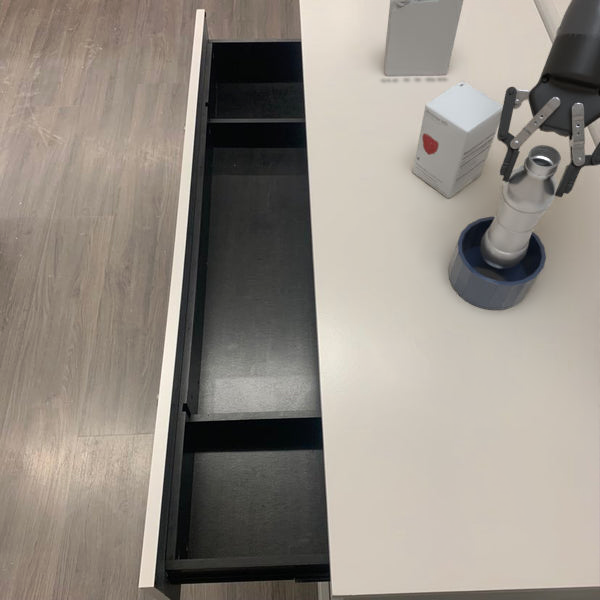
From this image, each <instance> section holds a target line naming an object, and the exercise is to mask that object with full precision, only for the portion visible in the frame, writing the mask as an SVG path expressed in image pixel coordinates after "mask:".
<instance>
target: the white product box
mask: <svg viewBox="0 0 600 600" xmlns="http://www.w3.org/2000/svg"><path fill="white" fill-rule="evenodd" d="M502 109H503V104H501V103H500V102H498V101H496V100H495V99H493V98H491V97H490V96H488V95H487V94H486V93H485V92H484V91H481V90H478V89H476V88H475V87H474V86H472V85H470V84H468V83H466V82H465V81H463V80H460V81H459V82H457V83H456V84H454V85H453V86H452V87H450V88H448V89H447V90H445V91H444V92H443V93H441V94H439V95H437V96H436V97H434V98H432V100H430V101H428V102H427V103H426V104H425V106H424V110H423V117H422V121H421V122H422V123H421V126H420V131H419V136H418V142H417V148H416V152H415V156H414V161H413V162H414V163H413V167H412V174H414V175H416V177H418V178H419V179H421V180H422V181H424V182H425V183H426V184H427V185H429V186H430V187H432V189H434V190H436V191H437V192H438V193H440V194H441V195H442V196H444V197H445V198H446V199H451V198H453V197H454V196H455V195H457V194H458V193H459V192H460V191H462V190H463V189H464V188H466V187H467V186H468V185H469V184H471V183H472V182H473V181H474V180H476V179H477V178H478V177H480V176H481V175H482V173H483V170H484V166H485V164H486V161H487V158H488V156H489V152H490V150H491V147H492V144H493V142H494V139H495V136H496V133H497V131H498V129H499V124H500V119H501V114H502Z"/></svg>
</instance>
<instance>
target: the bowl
mask: <svg viewBox="0 0 600 600" xmlns="http://www.w3.org/2000/svg"><path fill="white" fill-rule="evenodd" d="M494 218H495V216H487V217H481V218H478V219H476V220H475V221H473V222H470V223H468V224H467V225H466V226H465V227H464V229H463V230H462V231H461V232H460V235H459V237H458V240H457V243H456V245H455V249H454V251H453V254H452V257H451V260H450V262H449V267H448V278H449V282H450V284H451V286H452V288H453V290H454V292H456V294H457V295H458V296H459V297H460V298H461V299H463V300H464V301H465V302H467V303H469V305H472V306H474V307H477V308H480V309H483V310H489V311H502V310H507V309H509V308H510V309H511V308H513V307H515V306H517V305H519V304H520V303H521V302H522V301H523V300H525V298H526V297H527V295H528V294H529V292H530V291H531V289H532V287H533V286H534V285H535V283H536V281H537V279H538V278H539V276H540V275H541V273H542V271H543V270H544V267H545V264H546V260H547V255H546V249H545V245H544V243H543V242H542V240H541V238H540V236H539V235H538V234H537V233H536V232H535V231H534V230H533V231H532V234H531V237H530V239H529V244H528V248H527V251H526V255H525V256H524V258H523V259H522V260H521V261H520V262H519V263H518V264H517V265H515V266H514V267H511V268H506V269H499V268H495V267H492V266H490V265H489V264H488V263H487V262H486V261H485V260H484V259H483V257H482V256H481V253H480V245H481V239H482V237H483V235H484V234H485V232H486V231H487V229H488V228H489V227H490V225H491V224H492V222H493V220H494Z"/></svg>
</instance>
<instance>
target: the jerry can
mask: <svg viewBox="0 0 600 600" xmlns="http://www.w3.org/2000/svg"><path fill="white" fill-rule="evenodd" d="M463 4H464V0H389V9H388V18H387V26H386V27H387V28H386V38H385V39H386V40H385V47H384V57H383V64H384V74H385V76H387V77H406V76H407V77H414V76H415V77H418V76H421V77H423V76H446V75H447V74H448V72H449V68H450V63H451V59H452V55H453V50H454V45H455V40H456V36H457V32H458V27H459V22H460V18H461V13H462V9H463Z"/></svg>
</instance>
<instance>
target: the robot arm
mask: <svg viewBox="0 0 600 600" xmlns="http://www.w3.org/2000/svg"><path fill="white" fill-rule="evenodd" d="M525 101H528V104H529V107H530V108H529V109H530V111H531V114H532V115H531V116H532V118H531V120H529V121H528V122H527V124H526V125H525V126H524V127H522V129H521V130H520V131H519V132H518V133H517V134H516V135H515V136H514V135H513V134H512V133H511V132H510V128H511V122H512V117H513V112H514V110H517V109H520V108H521V106H522V104H523V102H525ZM502 105H503V109H502V114H501V119H500V122H499V125H498V128H497V135H496V138H497V140H498V141H500V143H502V144H504V145H505V146H506V148H507V150H506V152H505V153H506V154H505V156H504V159H503V161H502V164H501V167H500V169H499V175H500V176H503V177H502V182H504V183H505V182H508V181H509V178H510V176H511V173H512V171H513V170H514V168H515V165H516V162H517V160H518V157H519V156H520V152H521V151H520V148H521V147H522V146H523V145H524V144H525V143H526V141H528V140H529V138H531V136H533V134H535V133H536V131H537V130H539V131H541V132H544V133H555V134H556V135H558V136H560V137H564V138H568V146H569V156H570V159H569V160H570V162H569V164H567V165H565V168H564V171H563V173H562V175H561V178H560V181H559V182H558V184H557V190H556V192H555V196H556V197H557V198H560V199H561V198H563V196H564V194H565V195H569V194H570V193H571V192H572V190H573V188H574V186H575V184H576V181H577V179H578V176H579V174H580V172H581V170H582V168H584V167H596V166H599V165H600V141H599V142H598V143H597V145H596V146H595V149H594V150H593V151H592V153H591V154H586V150H585V144H586V136H585V135H586V134H585V132H586V131H585V129H586V128H587V127H589V126H590V125H592V124H593V123H595V122H596V121H597V120H599V119H600V0H571V1H570V2H569V4H568V6H567V8H566V10H565V12H564V14H563V16H562V19H561V22H560V23H559V27H558V28H557V30H556V33H555V37H554V40H553V42H552V44H551V48H550V50H549V53H548V55H547V58H546V61H545V63H544V65H543V69H542V71H541V73H540V76H539V79H538V81H537V83H536V84H535V85H534V86H533V87H532V88H531V89H530V90H528V89H517V88H516V87H515V86H509V87H508V88H506V90H505V94H504V99H503V103H502Z"/></svg>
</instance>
